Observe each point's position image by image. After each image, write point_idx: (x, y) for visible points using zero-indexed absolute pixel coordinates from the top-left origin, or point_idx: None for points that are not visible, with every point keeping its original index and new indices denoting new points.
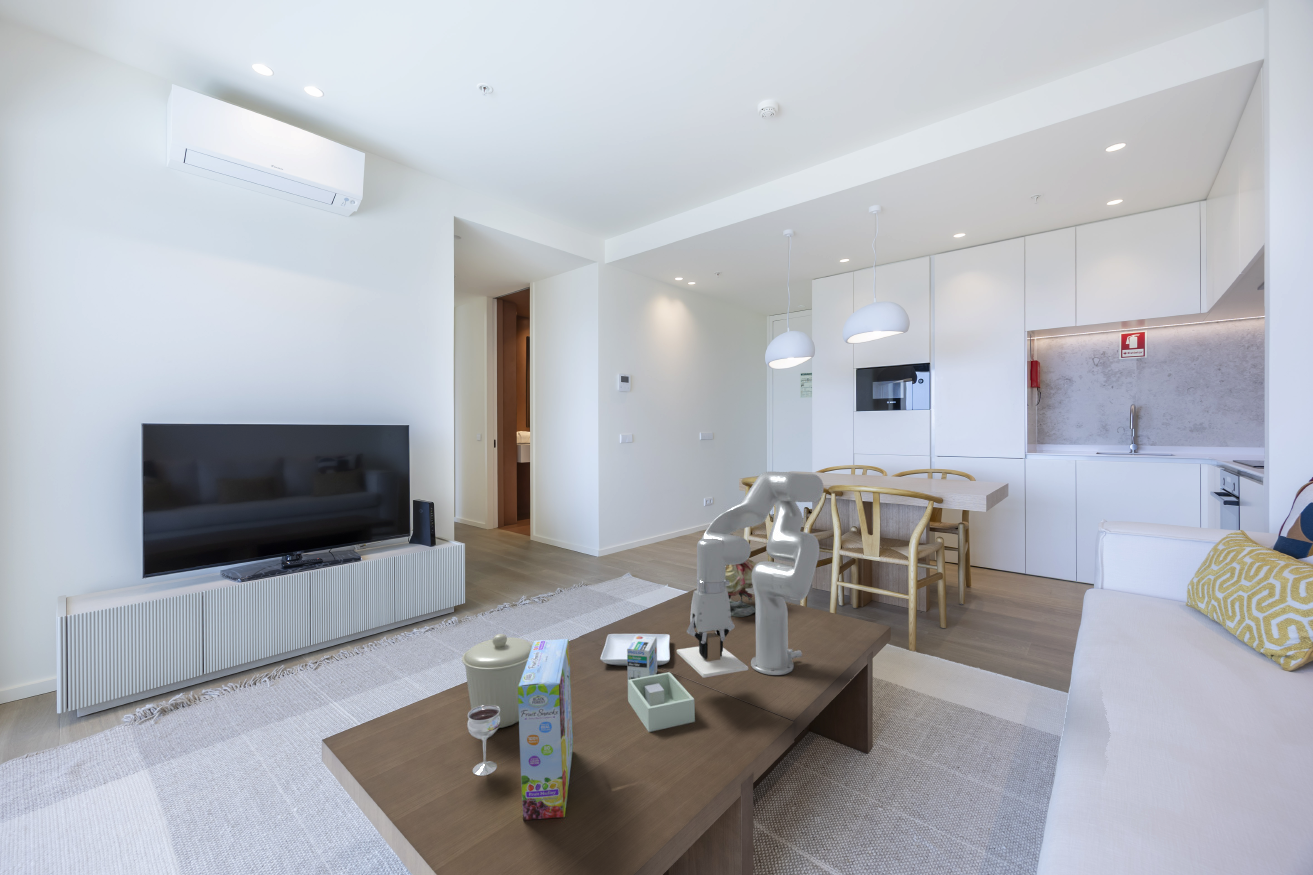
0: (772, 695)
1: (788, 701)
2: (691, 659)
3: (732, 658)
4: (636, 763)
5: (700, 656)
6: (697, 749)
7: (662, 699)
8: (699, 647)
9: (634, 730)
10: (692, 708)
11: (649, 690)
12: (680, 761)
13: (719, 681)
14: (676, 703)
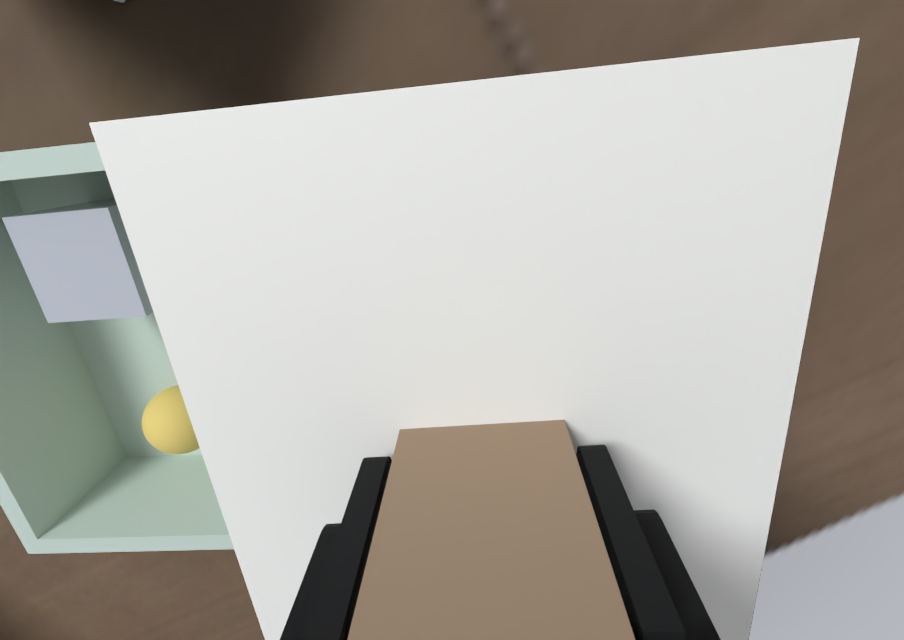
0: (865, 345)
1: (892, 425)
2: (252, 469)
3: (709, 557)
4: (85, 590)
5: (378, 424)
6: None
7: None
8: (305, 591)
9: None
10: None
11: (44, 291)
12: (232, 620)
13: (666, 47)
14: (187, 546)
